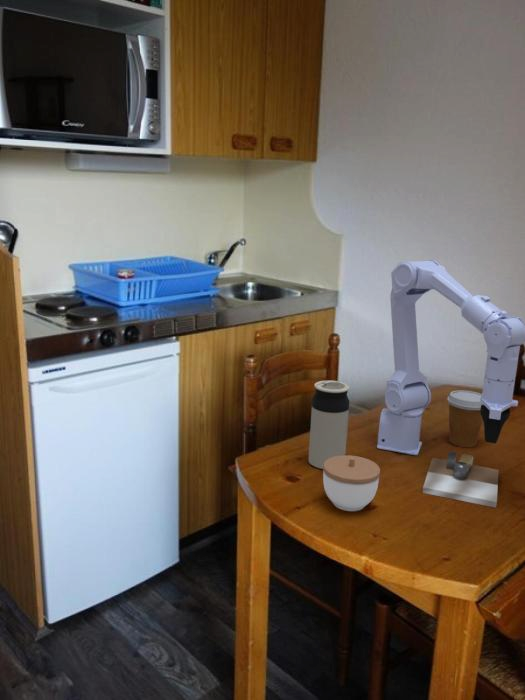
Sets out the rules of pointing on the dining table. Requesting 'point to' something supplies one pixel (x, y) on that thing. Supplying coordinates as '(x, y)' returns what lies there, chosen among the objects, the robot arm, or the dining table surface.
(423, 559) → the dining table surface
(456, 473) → the bar
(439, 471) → the door edge board
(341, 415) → the travel mug
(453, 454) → the keeper block
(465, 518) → the dining table surface
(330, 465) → the lidded jar
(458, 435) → the disposable coffee cup
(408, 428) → the robot arm
